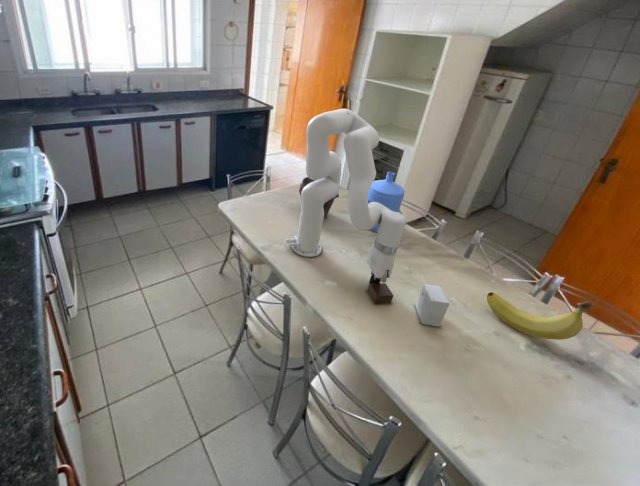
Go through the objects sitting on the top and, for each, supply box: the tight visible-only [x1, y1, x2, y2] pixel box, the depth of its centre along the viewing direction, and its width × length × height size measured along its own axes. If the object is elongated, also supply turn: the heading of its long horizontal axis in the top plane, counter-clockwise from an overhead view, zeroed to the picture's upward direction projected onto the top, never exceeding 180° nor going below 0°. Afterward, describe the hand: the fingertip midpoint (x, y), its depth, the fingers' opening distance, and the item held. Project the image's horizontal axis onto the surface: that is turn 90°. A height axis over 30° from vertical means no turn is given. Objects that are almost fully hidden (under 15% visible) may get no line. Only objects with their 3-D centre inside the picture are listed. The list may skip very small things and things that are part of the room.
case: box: [298, 176, 340, 220], centre depth 165 cm, size 18×20×18 cm
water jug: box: [368, 171, 406, 233], centre depth 156 cm, size 16×16×28 cm
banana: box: [486, 292, 594, 341], centre depth 104 cm, size 23×6×20 cm, turn 36°
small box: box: [415, 283, 450, 328], centre depth 109 cm, size 8×6×10 cm
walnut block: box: [367, 282, 394, 305], centre depth 117 cm, size 6×6×4 cm
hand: (373, 285), depth 122 cm, fingers closed
